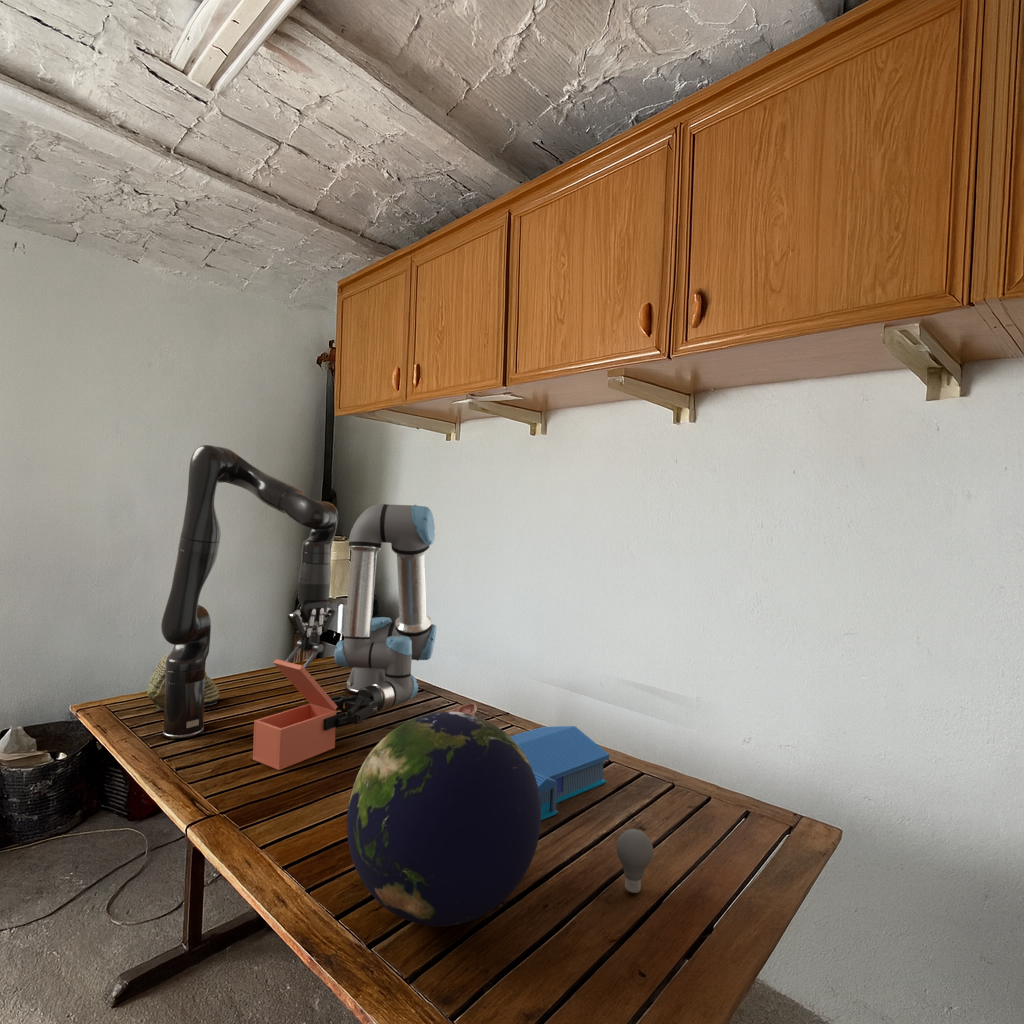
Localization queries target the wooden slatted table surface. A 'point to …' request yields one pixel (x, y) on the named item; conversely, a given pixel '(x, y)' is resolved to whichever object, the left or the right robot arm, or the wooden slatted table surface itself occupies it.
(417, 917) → the globe
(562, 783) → the model building
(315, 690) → the lid
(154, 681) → the fossil
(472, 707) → the anatomical model
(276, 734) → the chest
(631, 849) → the light bulb
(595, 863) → the wooden slatted table surface
